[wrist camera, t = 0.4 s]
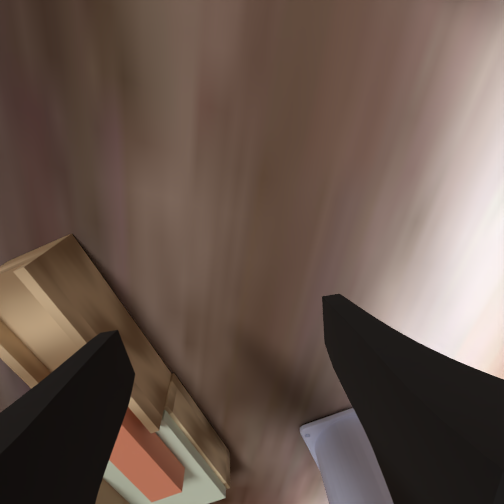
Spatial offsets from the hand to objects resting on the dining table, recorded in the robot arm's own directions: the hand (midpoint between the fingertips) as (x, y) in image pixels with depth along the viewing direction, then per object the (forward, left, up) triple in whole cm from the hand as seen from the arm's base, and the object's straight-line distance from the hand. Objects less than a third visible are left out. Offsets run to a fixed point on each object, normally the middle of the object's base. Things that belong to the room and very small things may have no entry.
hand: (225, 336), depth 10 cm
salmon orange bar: (-9, +11, -6) cm, 16 cm away
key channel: (-2, +11, -10) cm, 15 cm away
